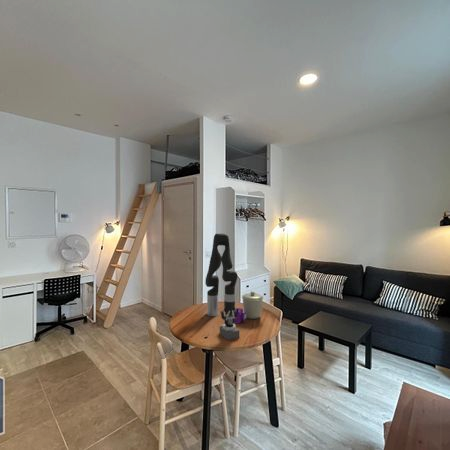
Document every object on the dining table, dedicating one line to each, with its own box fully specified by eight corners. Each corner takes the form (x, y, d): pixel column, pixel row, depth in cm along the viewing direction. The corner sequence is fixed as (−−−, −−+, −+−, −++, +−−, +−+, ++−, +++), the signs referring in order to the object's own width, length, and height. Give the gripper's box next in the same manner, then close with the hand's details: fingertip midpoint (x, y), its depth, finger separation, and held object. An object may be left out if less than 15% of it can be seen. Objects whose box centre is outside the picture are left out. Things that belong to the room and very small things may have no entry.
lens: (224, 326, 169) (225, 314, 169) (230, 325, 171) (230, 313, 171) (228, 328, 165) (228, 316, 165) (233, 327, 167) (234, 315, 167)
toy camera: (245, 324, 186) (245, 311, 186) (228, 323, 189) (228, 310, 189) (247, 319, 197) (247, 307, 197) (230, 318, 199) (230, 305, 199)
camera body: (219, 333, 172) (219, 323, 171) (230, 330, 176) (230, 321, 176) (227, 340, 161) (227, 329, 161) (239, 337, 165) (239, 327, 165)
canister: (261, 312, 212) (261, 288, 212) (265, 320, 194) (265, 294, 194) (240, 312, 212) (240, 288, 212) (242, 320, 194) (243, 294, 194)
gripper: (235, 296, 175) (235, 320, 175) (218, 299, 168) (217, 324, 168) (241, 299, 168) (240, 324, 168) (223, 302, 162) (222, 328, 162)
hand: (229, 324), depth 168 cm, fingers closed on lens, 4 cm apart
